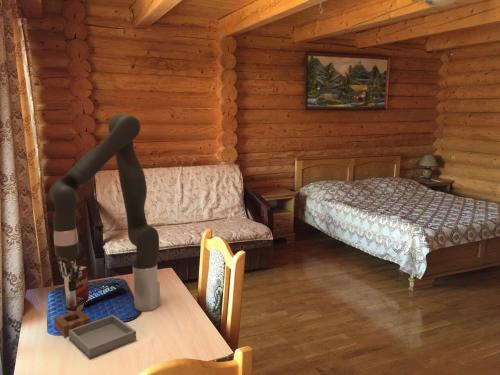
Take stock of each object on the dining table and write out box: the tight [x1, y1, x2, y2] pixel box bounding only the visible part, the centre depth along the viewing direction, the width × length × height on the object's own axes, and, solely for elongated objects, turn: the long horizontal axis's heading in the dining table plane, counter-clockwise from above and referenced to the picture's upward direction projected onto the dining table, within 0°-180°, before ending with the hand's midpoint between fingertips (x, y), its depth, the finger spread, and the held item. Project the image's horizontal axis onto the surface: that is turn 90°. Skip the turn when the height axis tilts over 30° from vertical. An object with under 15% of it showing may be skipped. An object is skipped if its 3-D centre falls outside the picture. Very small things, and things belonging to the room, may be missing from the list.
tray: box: [68, 314, 137, 360], centre depth 142 cm, size 16×16×4 cm
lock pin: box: [61, 270, 76, 308], centre depth 147 cm, size 4×4×13 cm
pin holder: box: [53, 310, 91, 338], centre depth 150 cm, size 9×9×4 cm
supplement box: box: [64, 265, 90, 313], centre depth 164 cm, size 9×5×16 cm, turn 168°
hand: (70, 288), depth 148 cm, fingers closed on lock pin, 3 cm apart
